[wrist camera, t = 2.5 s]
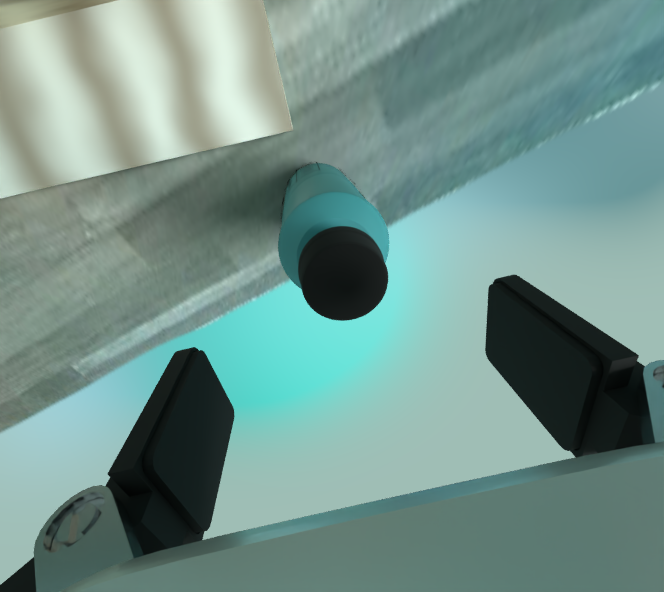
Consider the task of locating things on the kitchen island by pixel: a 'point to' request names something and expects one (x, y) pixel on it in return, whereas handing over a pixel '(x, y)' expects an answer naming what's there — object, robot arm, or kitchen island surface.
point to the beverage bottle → (333, 243)
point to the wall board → (130, 85)
